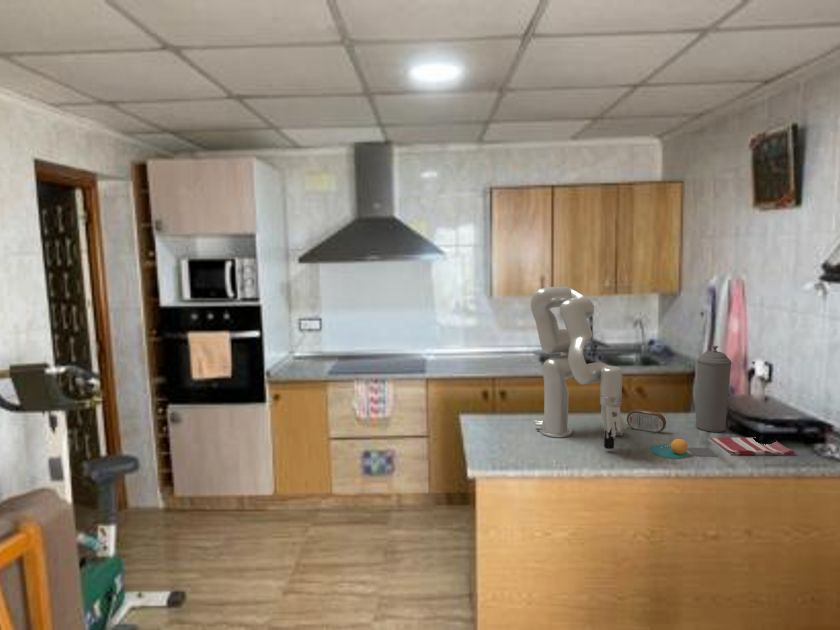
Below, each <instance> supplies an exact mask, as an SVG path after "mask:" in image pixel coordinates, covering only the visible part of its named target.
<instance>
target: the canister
mask: <svg viewBox="0 0 840 630" xmlns="http://www.w3.org/2000/svg"><path fill="white" fill-rule="evenodd" d="M711 348H712V350H710V351H708V350H707V351H705V352H703V353H702V354H701V355H700V356H699V357H698V358H697V359H696V393H695V395H696V396H695V397H696V398H695V399H696V403H695V404H696V405H695V427H696V428H697V429H699V430H701V431H705V432H713V433H720V432H724V431H725V430H726V424H727V413H728V404H729V403H728V402H729V395H730V394H729V393H730V381H731V367H732V364H733V362H732V360H731V359H730V358H729V357H728V356H727V354H725V353H724V352H722V351H718V350H717V349H718V348H719V346H718V345H711Z"/></svg>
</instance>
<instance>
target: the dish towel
mask: <svg viewBox="0 0 840 630" xmlns="http://www.w3.org/2000/svg"><path fill="white" fill-rule="evenodd" d="M753 438H754V437H739V436H738V437H729V436H728V437H727V436H726V437H725V436H724V437H719V436H717V437H709V438H708V442H710V443H712V444H713V445H714V446H716V447H718V448H719V449H720V450H721V451H723V452H724V453H726V454H727V455H729V456H739V457H741V456H742V457H747V456H748V457H753V456H795V451H794V449H791V448H788V447H786V446H784V445H783V444H781V443H780V442H778V441H777V440H776V442H774V443H772V444H766V445H765V444H764V445H763V444H760V443H758V442H756V441H755V440H754V439H753Z"/></svg>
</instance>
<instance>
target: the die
mask: <svg viewBox="0 0 840 630" xmlns="http://www.w3.org/2000/svg"><path fill="white" fill-rule="evenodd" d="M627 426H628V423H627V422H626V421H625V420H624V419H623V417H622V416H621V432H620V433H618V432H617V431H616V429H615V434H616V436H615V437H617V436H620V437H621V436H623V434H624V432H625V430H626V428H627Z"/></svg>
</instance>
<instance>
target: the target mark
mask: <svg viewBox="0 0 840 630" xmlns="http://www.w3.org/2000/svg"><path fill="white" fill-rule="evenodd" d="M665 446H666V447H665ZM667 446H668V447H667ZM661 447H662V448H661ZM649 449H650V450H649V451H650V452H651V453H652V454H653V453H654V455H655V454H656V455H655V456H658V455H659V456H658V457H661V456H662V458H665V457H667V459H672V458H674V459H678V460H679V459H685V458H687V457H689V452H688V450H687V451H686V452H685V453H684V454H676V453H674V452H673V451H672V449H671V445H665V444H661V445H660V444H659V445H654V446H651V447H650V448H649Z"/></svg>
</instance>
